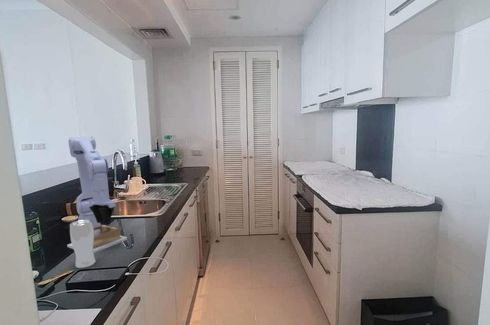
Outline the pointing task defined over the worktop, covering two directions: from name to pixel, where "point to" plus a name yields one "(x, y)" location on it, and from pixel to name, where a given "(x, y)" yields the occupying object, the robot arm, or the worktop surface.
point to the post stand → (106, 245)
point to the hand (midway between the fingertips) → (103, 223)
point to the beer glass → (83, 242)
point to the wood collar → (105, 235)
